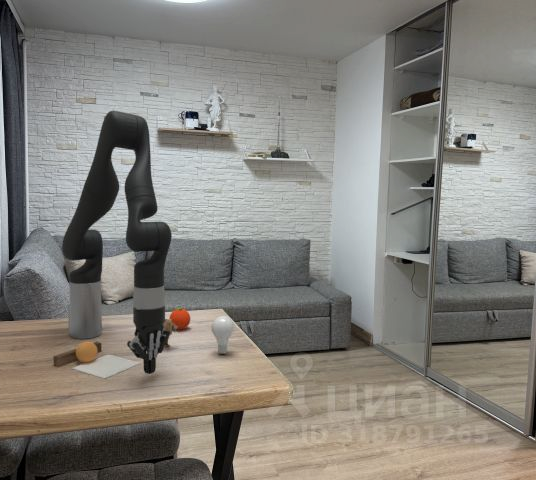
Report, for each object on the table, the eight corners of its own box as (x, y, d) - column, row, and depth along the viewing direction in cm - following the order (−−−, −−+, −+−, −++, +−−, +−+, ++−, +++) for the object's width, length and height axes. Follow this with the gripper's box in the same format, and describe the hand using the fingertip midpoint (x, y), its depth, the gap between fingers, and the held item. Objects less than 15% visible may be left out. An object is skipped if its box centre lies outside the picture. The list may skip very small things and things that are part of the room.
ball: (88, 354, 122) (81, 369, 124) (104, 347, 127) (97, 362, 129) (75, 340, 124) (68, 356, 126) (91, 334, 129) (84, 349, 131)
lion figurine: (179, 349, 139) (179, 319, 138) (162, 352, 135) (162, 322, 134) (159, 335, 150) (159, 308, 149) (143, 338, 147) (143, 310, 146)
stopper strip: (53, 365, 124) (53, 356, 124) (96, 350, 136) (96, 341, 136) (58, 366, 123) (58, 357, 123) (101, 351, 135) (101, 342, 135)
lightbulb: (237, 352, 137) (238, 315, 136) (226, 359, 131) (227, 320, 130) (218, 348, 139) (219, 312, 138) (207, 355, 134) (207, 317, 132)
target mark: (72, 368, 122) (72, 368, 122) (108, 355, 132) (108, 354, 132) (104, 378, 116) (104, 378, 116) (140, 363, 126) (140, 363, 126)
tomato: (164, 327, 159) (164, 306, 159) (183, 324, 164) (183, 304, 163) (174, 333, 153) (174, 312, 152) (194, 330, 157) (194, 309, 156)
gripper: (156, 296, 122) (156, 361, 124) (117, 307, 111) (118, 378, 113) (179, 300, 119) (179, 367, 121) (140, 312, 107) (141, 385, 109)
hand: (149, 372), depth 117 cm, fingers closed
